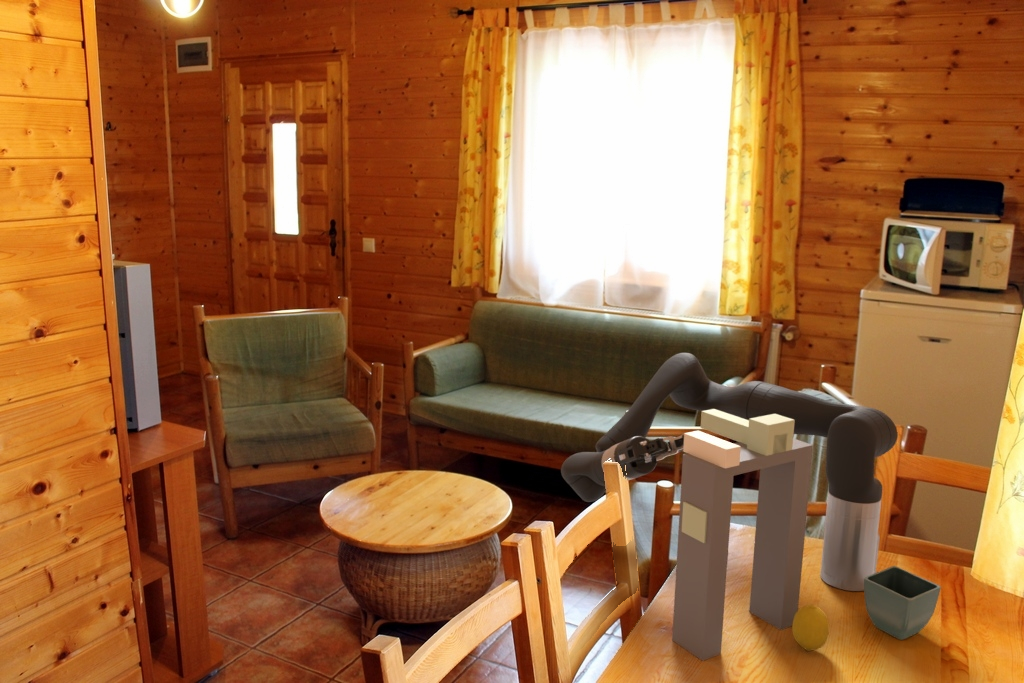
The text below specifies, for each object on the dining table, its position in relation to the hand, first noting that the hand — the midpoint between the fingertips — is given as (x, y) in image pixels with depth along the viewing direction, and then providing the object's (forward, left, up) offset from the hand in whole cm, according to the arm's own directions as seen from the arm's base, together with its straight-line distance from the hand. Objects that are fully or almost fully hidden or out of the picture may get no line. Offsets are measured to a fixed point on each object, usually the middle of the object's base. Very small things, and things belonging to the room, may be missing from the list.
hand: (680, 439), depth 152 cm
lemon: (-3, +29, -28) cm, 40 cm away
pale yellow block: (0, +14, +4) cm, 15 cm away
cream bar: (+11, +19, +4) cm, 22 cm away
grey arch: (+3, +19, -28) cm, 34 cm away
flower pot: (-21, +32, -28) cm, 48 cm away
